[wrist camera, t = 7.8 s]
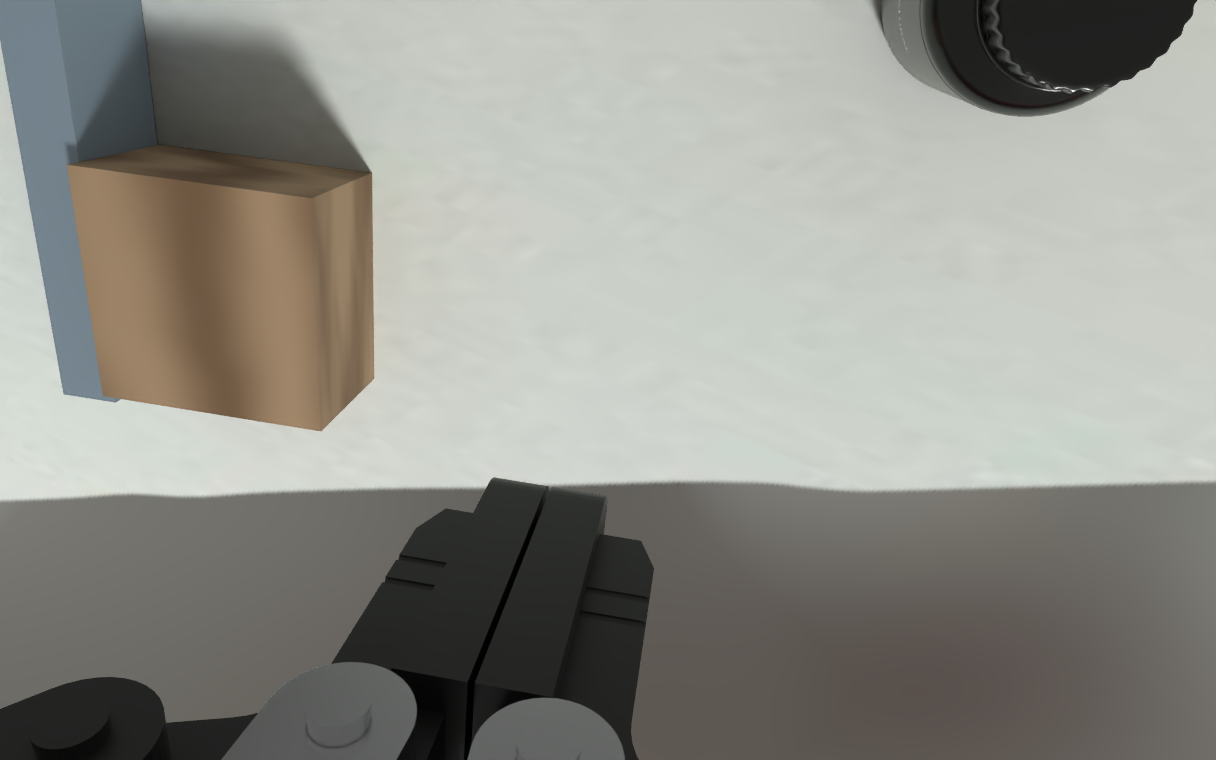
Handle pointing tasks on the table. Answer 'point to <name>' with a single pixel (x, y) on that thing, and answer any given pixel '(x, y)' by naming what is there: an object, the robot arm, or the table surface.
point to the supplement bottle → (1030, 47)
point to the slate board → (73, 139)
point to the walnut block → (228, 282)
